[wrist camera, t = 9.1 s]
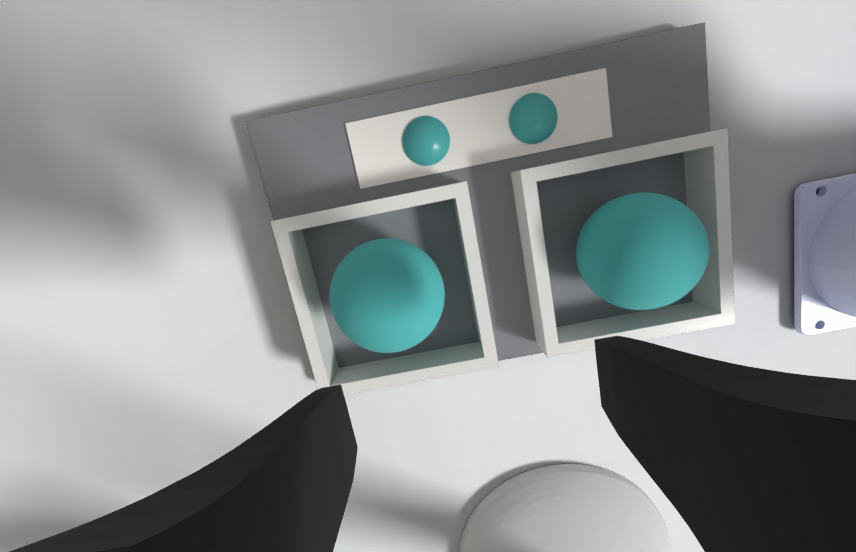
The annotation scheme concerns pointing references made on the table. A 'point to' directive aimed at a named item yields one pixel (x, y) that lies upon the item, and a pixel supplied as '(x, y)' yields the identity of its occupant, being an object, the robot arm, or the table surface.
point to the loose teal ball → (387, 295)
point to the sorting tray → (499, 200)
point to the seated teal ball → (642, 251)
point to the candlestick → (566, 514)
